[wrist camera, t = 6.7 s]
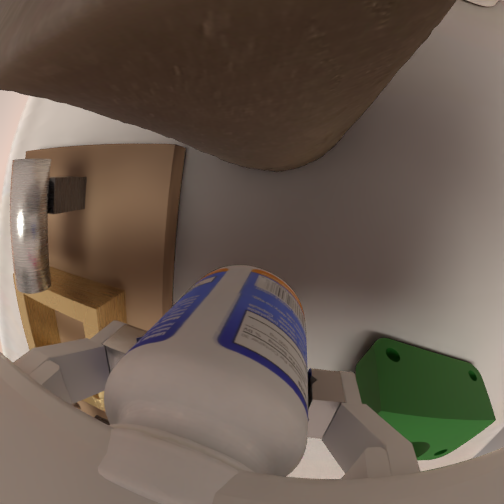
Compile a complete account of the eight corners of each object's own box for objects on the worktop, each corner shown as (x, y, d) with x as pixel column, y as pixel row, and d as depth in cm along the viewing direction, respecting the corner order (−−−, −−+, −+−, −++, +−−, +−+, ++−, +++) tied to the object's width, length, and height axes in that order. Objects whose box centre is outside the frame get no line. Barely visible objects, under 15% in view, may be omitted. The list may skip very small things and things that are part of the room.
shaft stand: (39, 151, 16) (-53, 153, 7) (185, 148, 14) (62, 113, 5) (68, 398, 22) (22, 444, 13) (177, 448, 21) (142, 519, 12)
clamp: (348, 359, 20) (299, 438, 13) (387, 308, 18) (352, 393, 10) (445, 419, 16) (427, 503, 9) (492, 378, 13) (494, 470, 6)
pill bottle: (196, 360, 13) (104, 516, 4) (183, 260, 12) (0, 397, 3) (303, 367, 12) (289, 562, 3) (308, 261, 11) (324, 508, 2)
